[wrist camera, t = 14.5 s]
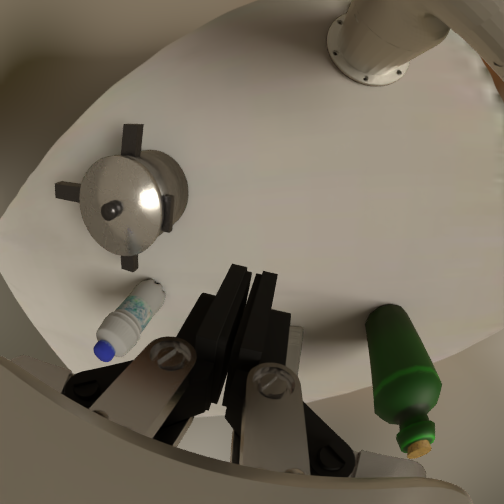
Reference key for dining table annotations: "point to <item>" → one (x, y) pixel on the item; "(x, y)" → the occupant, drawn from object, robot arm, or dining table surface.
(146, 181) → the lid
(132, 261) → the cooker
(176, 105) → the dining table surface
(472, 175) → the dining table surface
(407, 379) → the bottle
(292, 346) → the skincare box
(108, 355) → the bottle
